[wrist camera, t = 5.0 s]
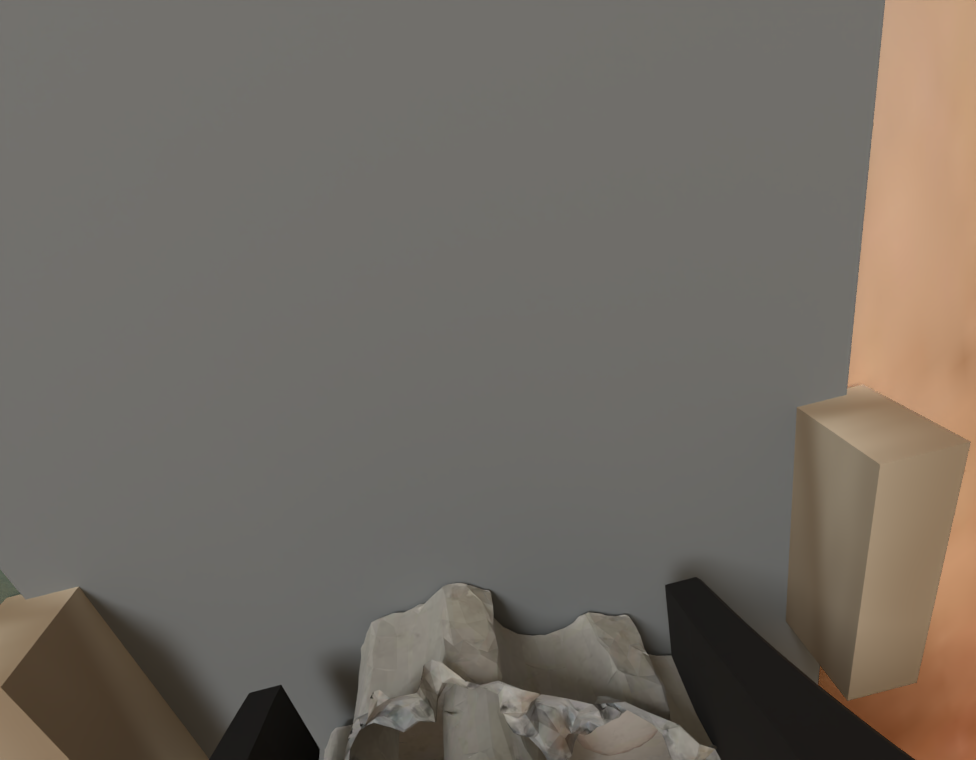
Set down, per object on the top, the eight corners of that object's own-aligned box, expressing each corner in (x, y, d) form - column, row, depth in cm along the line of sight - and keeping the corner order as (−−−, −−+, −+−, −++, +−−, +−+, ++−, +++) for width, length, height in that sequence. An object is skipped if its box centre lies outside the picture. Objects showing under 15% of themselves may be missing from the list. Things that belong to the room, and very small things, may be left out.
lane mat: (377, 1014, 19) (376, 1023, 19) (-1245, -981, 4) (-1345, -1049, 3) (792, 901, 20) (796, 910, 19) (996, -1370, 4) (1028, -1452, 4)
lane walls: (157, 775, 12) (107, 895, 10) (6, 597, 10) (-98, 712, 8) (838, 599, 13) (916, 682, 11) (863, 384, 10) (970, 441, 8)
